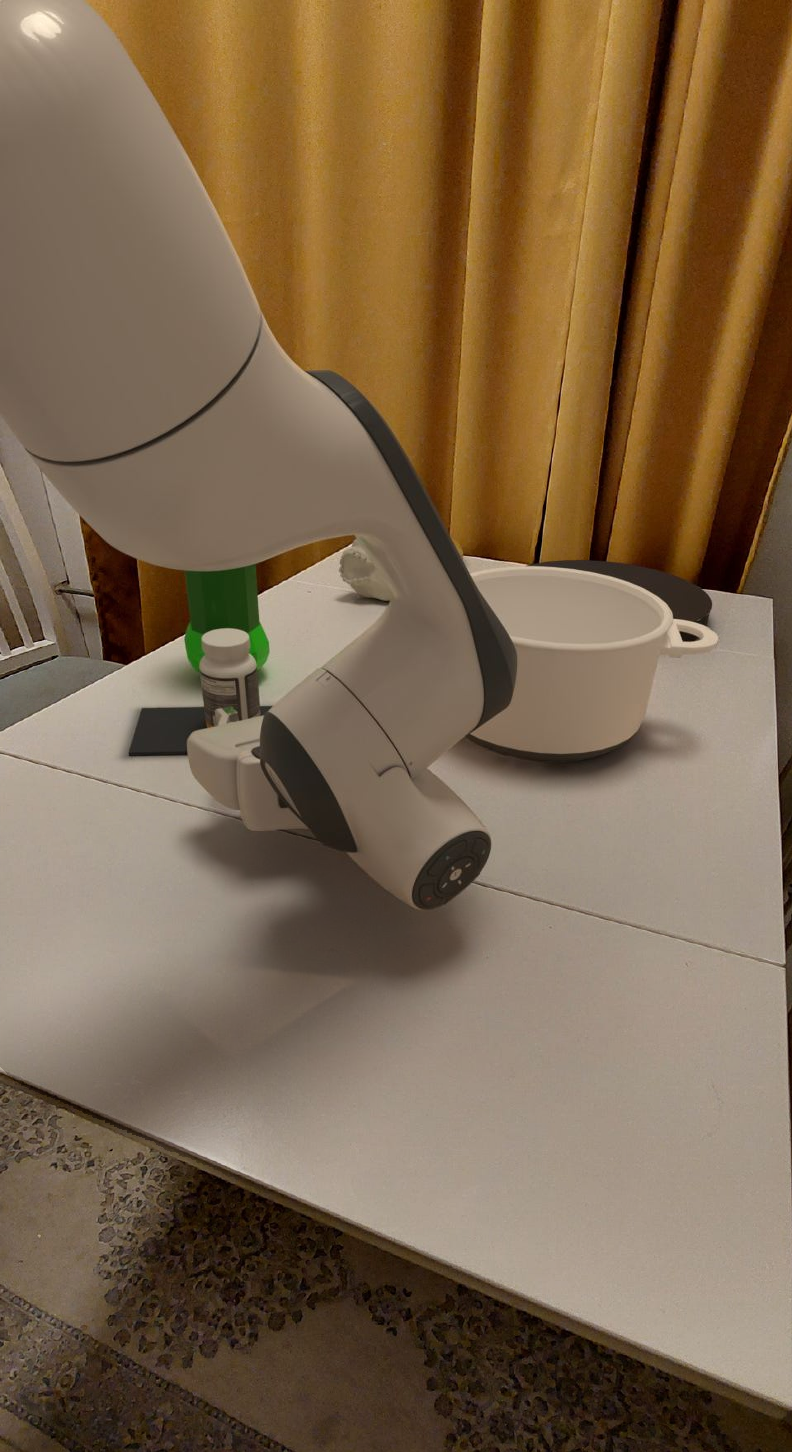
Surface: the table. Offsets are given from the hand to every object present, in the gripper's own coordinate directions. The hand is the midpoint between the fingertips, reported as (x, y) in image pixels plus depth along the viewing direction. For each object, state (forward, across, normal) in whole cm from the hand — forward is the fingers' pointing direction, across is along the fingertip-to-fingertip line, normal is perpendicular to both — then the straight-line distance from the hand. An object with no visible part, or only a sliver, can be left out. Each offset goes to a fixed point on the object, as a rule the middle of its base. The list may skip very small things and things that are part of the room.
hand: (271, 704), depth 77 cm
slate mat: (+11, 0, +8) cm, 13 cm away
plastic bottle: (+24, -5, +8) cm, 25 cm away
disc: (+20, -61, +8) cm, 65 cm away
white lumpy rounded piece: (+39, -38, +8) cm, 55 cm away
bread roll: (+50, -52, +8) cm, 73 cm away
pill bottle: (+10, 0, +7) cm, 13 cm away
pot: (-4, -30, +8) cm, 31 cm away
